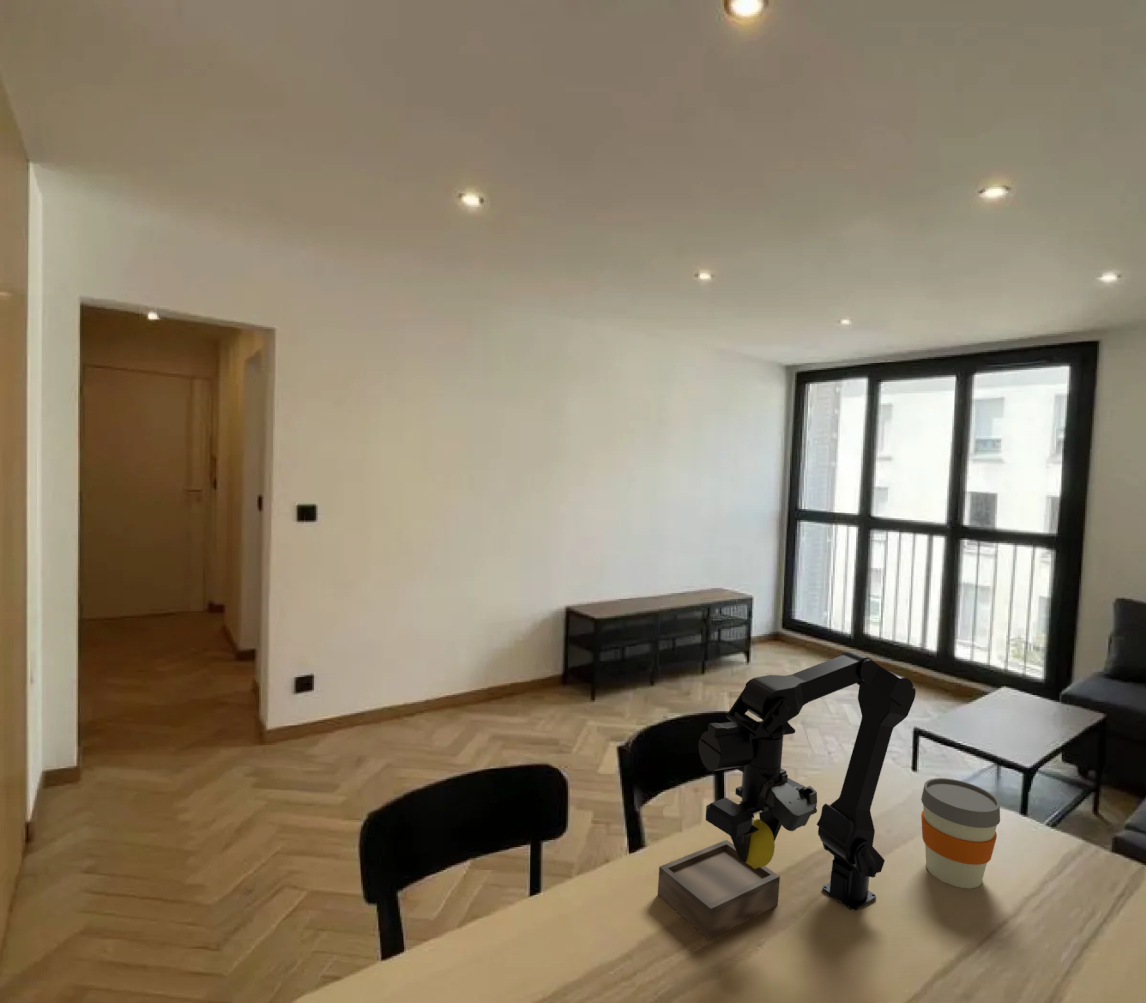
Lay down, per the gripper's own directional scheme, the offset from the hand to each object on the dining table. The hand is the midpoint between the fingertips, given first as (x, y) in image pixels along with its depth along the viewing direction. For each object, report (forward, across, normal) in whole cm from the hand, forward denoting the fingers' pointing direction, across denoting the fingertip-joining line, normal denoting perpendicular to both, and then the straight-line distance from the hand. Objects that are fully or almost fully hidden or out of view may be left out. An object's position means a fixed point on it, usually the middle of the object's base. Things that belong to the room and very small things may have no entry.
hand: (755, 855), depth 108 cm
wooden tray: (+11, -1, +6) cm, 13 cm away
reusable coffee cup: (+11, +43, -12) cm, 46 cm away
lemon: (+2, 0, 0) cm, 2 cm away
